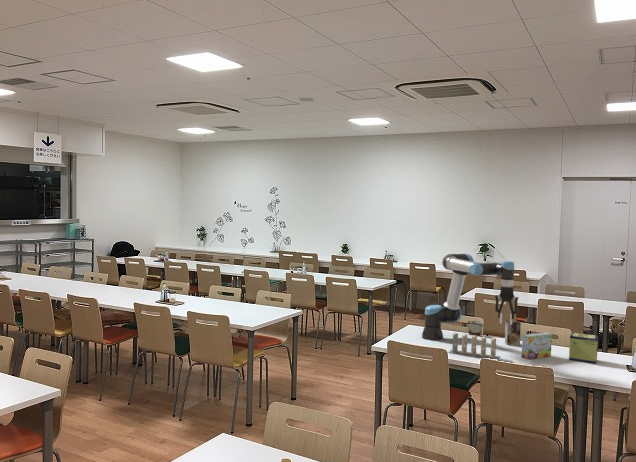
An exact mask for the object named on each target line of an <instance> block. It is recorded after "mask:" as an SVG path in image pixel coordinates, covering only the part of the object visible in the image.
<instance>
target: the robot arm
mask: <svg viewBox="0 0 636 462" xmlns="http://www.w3.org/2000/svg"><path fill="white" fill-rule="evenodd" d="M441 265H442V267H443V268H444V269H446V270H447V271H451V272H452V273H453V274H452V277H451V281H450V282H451V283H450V285H449V290H448V293H447V299H446V301H444V303H443V305H440V304H430V305H427V306H426V307H425V309H424V327H423V330H422V333H421V338H422V339H424V340H427V341H428V340H430V341H441V340H443V339H444V334H443V331H442V324H449V323H451V324H454V323H457V322H459V321H460V320H461V318H462V315H463V314H462V309H461V306H460V301H461V295H462V292H463V288H464V284H465V280H466V277H467V276H468V275H469V274H471V275H472V276H478V277H479V276H500V293H499V294H497V295H495V310H494V311H495V312H497V313H498V315H497V317H498V319H499V324H500V325H501V324H502V323H503V312H502V310H503V306H504V303H505V302H508V305H509V308H510V311H511V312H510V314H509V321H510V325H512V321H513V320H514V319H515V314H518V300H519V297H518V296H515V295H514V288H515V287H514V284H515V280H514V279H515V262H514V261H510V260H503V261H501V263H499V262H487V263H485V262H477V261H476V262H475V260H474V257H473V256H472V255H471V254H469V253H449V254H446V255H445V256H444V257H443V258H442V263H441ZM500 298H501V303H500V306H499V301H500ZM512 300H514V306H513V302H512Z"/></svg>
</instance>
